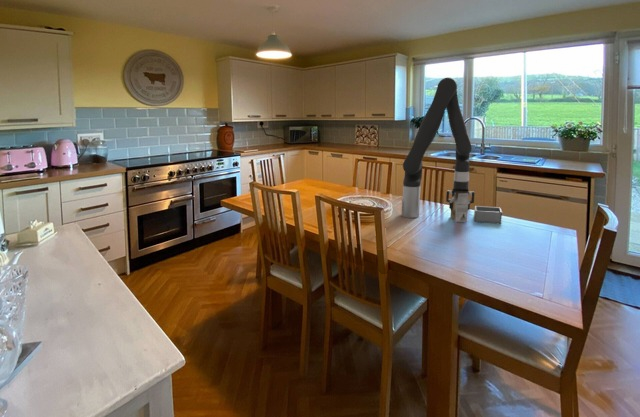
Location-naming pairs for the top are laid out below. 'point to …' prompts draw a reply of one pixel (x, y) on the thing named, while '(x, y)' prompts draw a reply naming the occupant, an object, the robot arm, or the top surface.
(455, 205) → the coffee box
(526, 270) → the top surface
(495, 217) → the bin
